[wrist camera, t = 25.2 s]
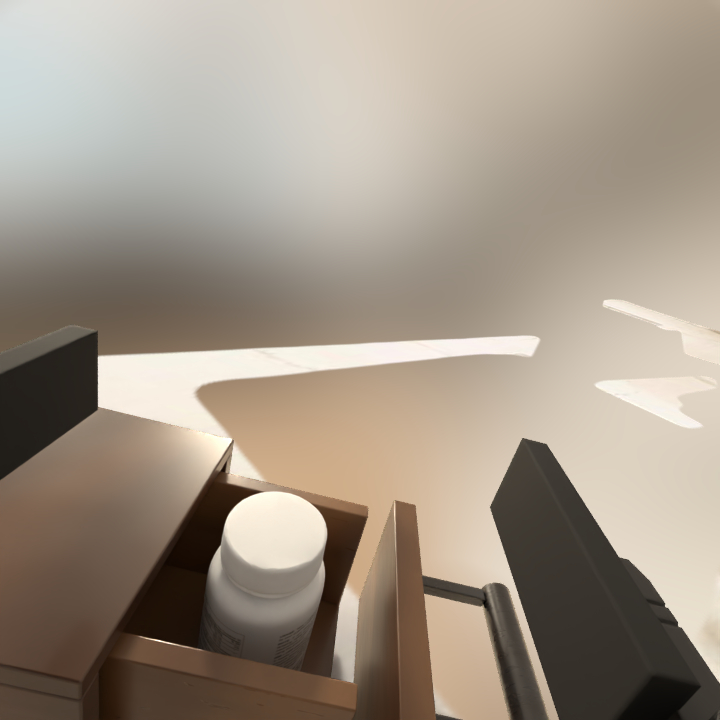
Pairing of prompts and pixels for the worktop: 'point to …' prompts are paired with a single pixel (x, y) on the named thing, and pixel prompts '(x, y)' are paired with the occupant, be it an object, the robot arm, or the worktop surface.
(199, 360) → the worktop surface
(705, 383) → the worktop surface
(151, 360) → the worktop surface
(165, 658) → the drawer
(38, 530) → the cabinet
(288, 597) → the pill bottle
